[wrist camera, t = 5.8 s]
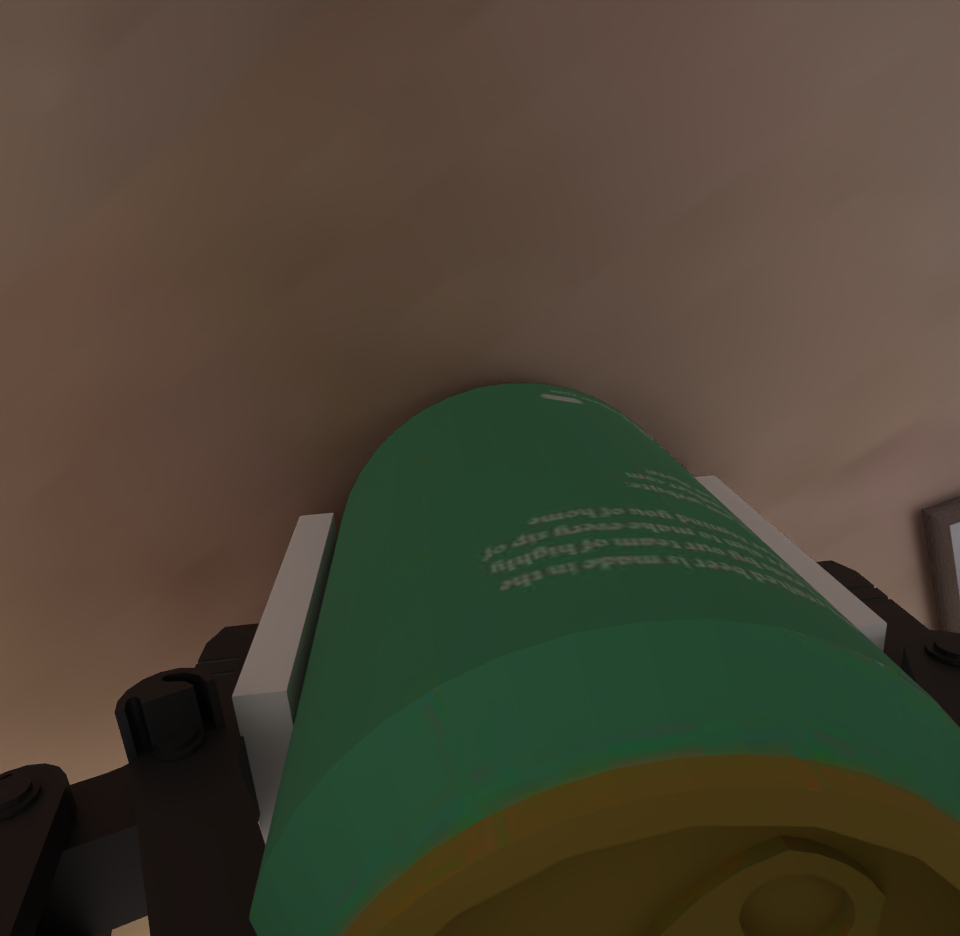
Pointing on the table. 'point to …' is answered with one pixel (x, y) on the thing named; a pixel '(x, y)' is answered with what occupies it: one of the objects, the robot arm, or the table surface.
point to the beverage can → (593, 709)
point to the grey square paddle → (945, 560)
